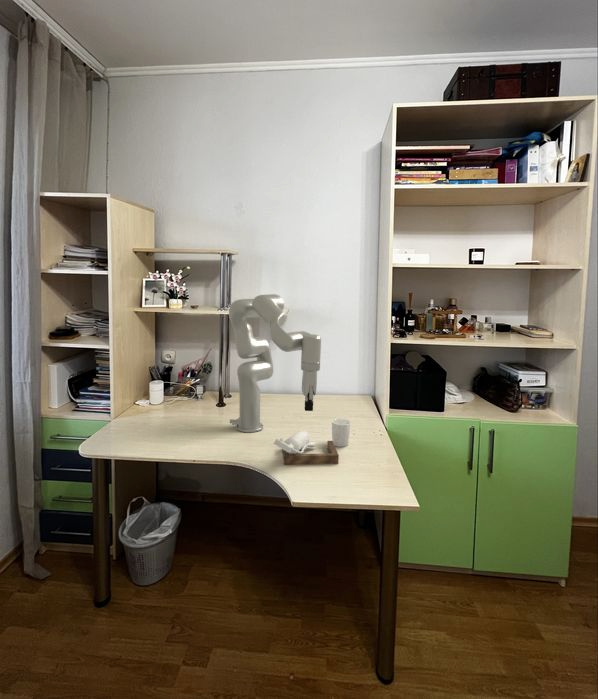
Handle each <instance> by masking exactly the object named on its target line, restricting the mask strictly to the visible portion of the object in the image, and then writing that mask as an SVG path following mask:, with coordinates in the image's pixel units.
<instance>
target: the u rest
mask: <svg viewBox="0 0 598 699" xmlns="http://www.w3.org/2000/svg"><path fill="white" fill-rule="evenodd" d="M283 441H284V440H283ZM285 441H286V440H285ZM285 441H284V442H285ZM326 445H327V446H326V447H327V448H326V449H327V452H328V453H327V452H326V453H325V452H324V453H300V454H299V453H296V454H289V453H288V452H286V451H285V450H283V449H281V452H282V459H283V465H284V466H289V465H290V466H292V465H293V466H295V465H298V466H299V465H303V466H305V465H338V464H339V462H340V461H339V459H340V455H339V452H338V450H337V448H336V446H335V445H334V444H333V441H332V440H327V444H326Z"/></svg>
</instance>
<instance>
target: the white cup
mask: <svg viewBox="0 0 598 699" xmlns="http://www.w3.org/2000/svg"><path fill="white" fill-rule="evenodd" d="M350 432H351V421H350V420H349V419H344V418H335V419H333V420H331V438H332V439H331V441H333V444H334V446H335V447H338V448H339V447H341V448H343V447H347V446H348V445H349V439H350Z"/></svg>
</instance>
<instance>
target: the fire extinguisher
mask: <svg viewBox="0 0 598 699" xmlns="http://www.w3.org/2000/svg"><path fill="white" fill-rule="evenodd" d="M309 441H310V435H309V433H308V432H307V431H305V430H298V431H297V432H296V433H294V434H292V435H291V436H289V437H288V438H287V439H286V440H285V442H284V438H282V437H281V438H280V439H278V438H275V440H274V442H273V445H275V446H277V447H278V448H280V449H281V450H282V449H283V450H285V451H286V452H288V453H289V454H304V453H305V449H306V448H307V447H308V448H316V447H317V444H316V443H315V441H312V442H309ZM300 450H301V451H300Z"/></svg>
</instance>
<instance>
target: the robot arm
mask: <svg viewBox="0 0 598 699" xmlns="http://www.w3.org/2000/svg"><path fill="white" fill-rule="evenodd" d="M284 308H285V302H284V299H283V297H282V296H280V295H278V294H275V293H273V294H259V295H257V296H255V297H254V298H243V299H242V298H241V299H237V300H234V301H233V302H232V303H231V304H230V305H229V309H228V318H229V321H230V323H231V326H232V330H233V335H234V341H235V346H236V353H237V356H238V357H239V358H241V360H242V359H243V360H247V359H254V358H256V360H249V361H245V362H242V363H240V364H239V366H238V367H237V371H236V373H237V379H238V384H239V386H238V389H239V394H238V395H239V417H238V418H236V419H233V418H231V419H229V424H231V425H232V426H234V425H235V429H236V430H237V431H239V432H241V433H257V432H260V431H261V430H263V429H264V424H263V423H261V390H260V388H259V386H258V384H257V382H261V381H264V380H269V379H271V378H272V377H273V374H274V364H273V362H274V361H273V357H272V351H271V346H270V344H269V341H268V340H267V339H266V338H265V337H264V336H254V333H253V327H252V324H250V322H249V321H248V320H247V318H251V319H252V318H261V319H262V320H263V321H264V322H265V323H266V324H267V325H268V327H269V328H268V333H269V337H270V340H271V341H272V342H273V343H274V344H275V346H277V348H278V349H279V350H281V351H283V352H286V353H291V352H296V351H301V358H300V359H301V360H300V370H301V371H302V377H301V378H302V379H301V392H302V394H303V396H305V397H304V398H305V400H304V411H305V412H312V411H313V412H314V396H316V395H317V382H318V372H319V371H320V370H321V353H322V352H321V351H322V337H321V336H320V335H319V334H313V333H312V334H311V333H310V332H307V331H292V332H291V331H290V332H286V331H285V330H284V329H283V328H282V326H283V325H284V324H285V322H286V319H287V314H286V313H285V312H284Z"/></svg>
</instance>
